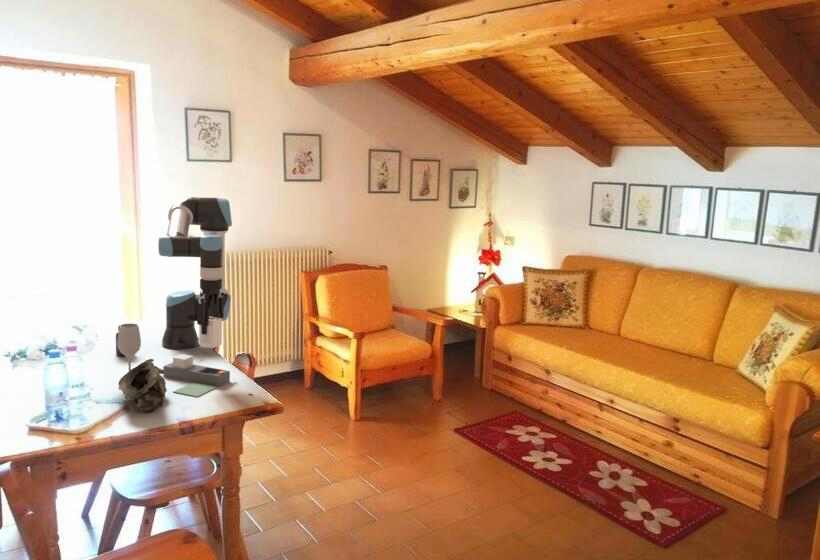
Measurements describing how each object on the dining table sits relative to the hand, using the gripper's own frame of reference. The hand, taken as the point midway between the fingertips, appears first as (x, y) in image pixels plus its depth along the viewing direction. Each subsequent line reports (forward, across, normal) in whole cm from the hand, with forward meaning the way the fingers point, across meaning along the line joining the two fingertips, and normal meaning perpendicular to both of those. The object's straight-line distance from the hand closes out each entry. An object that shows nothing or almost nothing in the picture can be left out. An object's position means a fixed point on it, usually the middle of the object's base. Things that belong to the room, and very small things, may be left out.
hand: (210, 340), depth 234 cm
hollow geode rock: (+15, +29, -5) cm, 33 cm away
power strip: (+16, +1, -9) cm, 18 cm away
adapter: (+13, +1, -12) cm, 17 cm away
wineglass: (+16, +15, -24) cm, 32 cm away
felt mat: (+15, +11, +1) cm, 19 cm away
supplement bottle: (+16, -10, -49) cm, 52 cm away
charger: (+2, 0, 0) cm, 2 cm away
